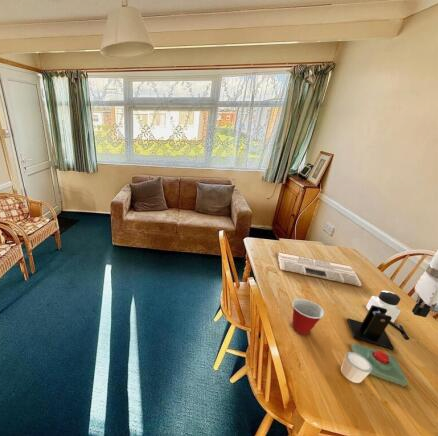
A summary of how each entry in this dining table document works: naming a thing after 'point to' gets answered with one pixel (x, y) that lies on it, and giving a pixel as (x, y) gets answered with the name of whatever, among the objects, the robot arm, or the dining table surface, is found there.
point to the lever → (395, 326)
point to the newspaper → (318, 269)
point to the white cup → (355, 367)
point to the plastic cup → (305, 315)
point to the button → (381, 357)
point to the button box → (382, 365)
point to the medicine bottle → (386, 303)
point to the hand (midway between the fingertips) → (418, 314)
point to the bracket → (372, 328)
